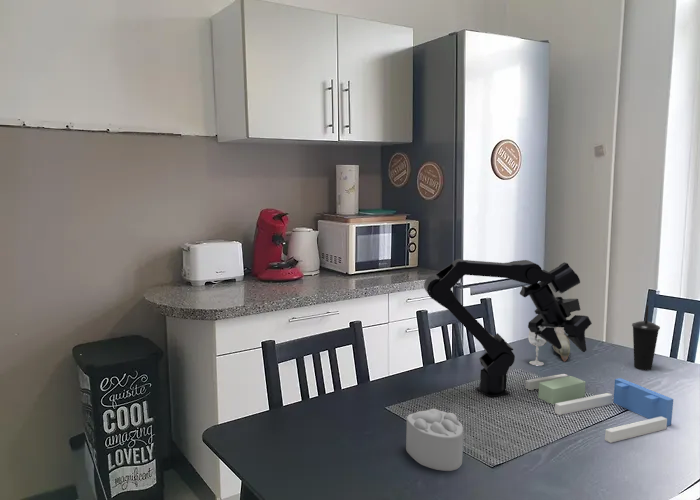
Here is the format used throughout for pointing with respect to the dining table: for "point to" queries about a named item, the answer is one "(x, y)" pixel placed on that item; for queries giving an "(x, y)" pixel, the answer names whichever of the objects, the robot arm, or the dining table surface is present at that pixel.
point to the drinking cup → (644, 342)
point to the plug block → (561, 389)
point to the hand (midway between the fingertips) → (572, 349)
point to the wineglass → (536, 342)
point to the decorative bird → (562, 344)
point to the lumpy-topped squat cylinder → (435, 439)
